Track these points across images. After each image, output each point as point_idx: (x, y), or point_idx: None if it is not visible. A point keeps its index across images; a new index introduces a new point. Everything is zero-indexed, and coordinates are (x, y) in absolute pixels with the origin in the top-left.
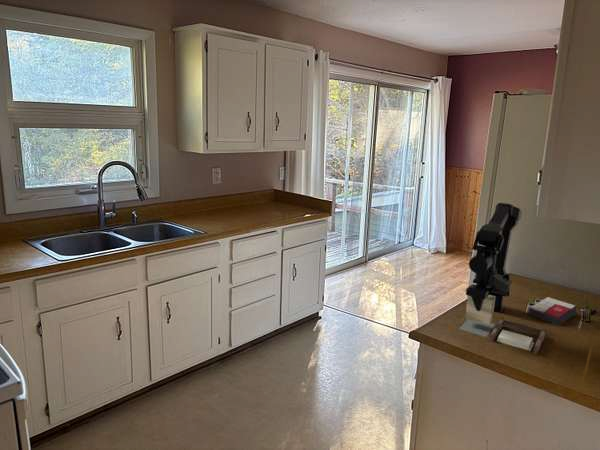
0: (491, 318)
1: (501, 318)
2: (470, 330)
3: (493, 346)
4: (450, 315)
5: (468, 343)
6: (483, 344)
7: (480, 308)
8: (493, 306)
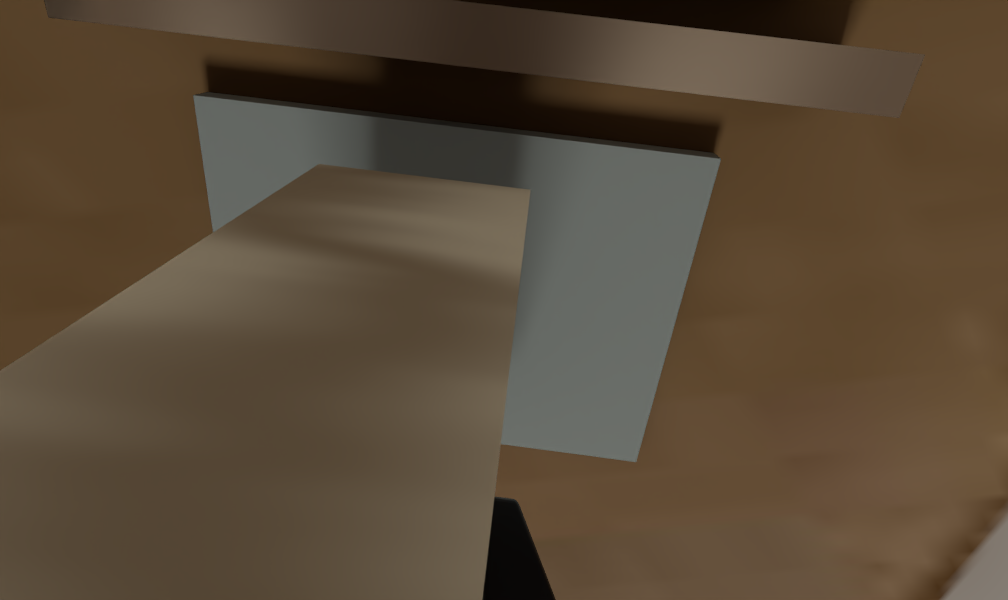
0: (385, 196)
1: (63, 16)
2: (611, 358)
3: (948, 12)
4: None
5: (945, 325)
6: (920, 158)
7: (532, 553)
8: (215, 317)
